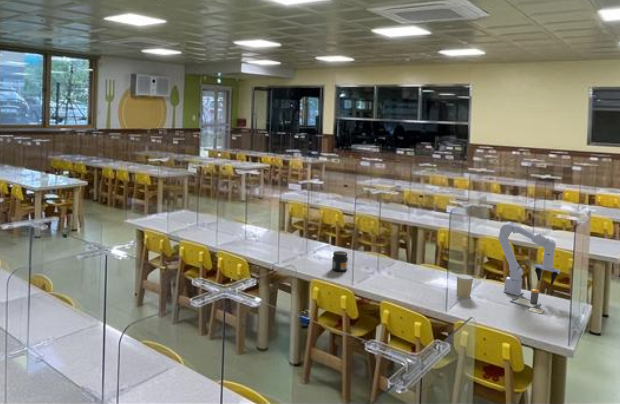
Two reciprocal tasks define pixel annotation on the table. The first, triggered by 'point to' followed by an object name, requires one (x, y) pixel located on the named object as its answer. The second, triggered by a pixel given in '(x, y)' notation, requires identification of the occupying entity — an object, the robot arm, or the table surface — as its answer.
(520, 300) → the clipboard
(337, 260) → the supplement container
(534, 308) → the word card
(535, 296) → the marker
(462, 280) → the coffee cup
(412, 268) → the table surface
